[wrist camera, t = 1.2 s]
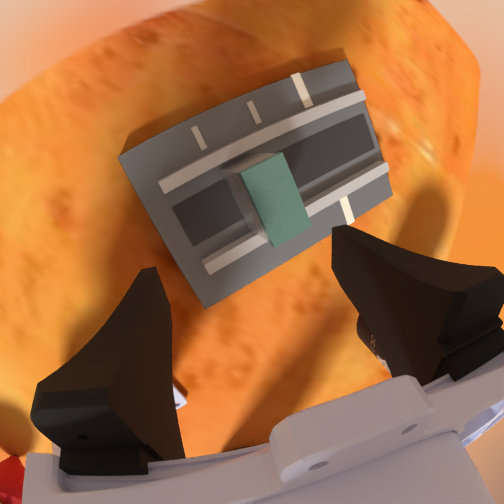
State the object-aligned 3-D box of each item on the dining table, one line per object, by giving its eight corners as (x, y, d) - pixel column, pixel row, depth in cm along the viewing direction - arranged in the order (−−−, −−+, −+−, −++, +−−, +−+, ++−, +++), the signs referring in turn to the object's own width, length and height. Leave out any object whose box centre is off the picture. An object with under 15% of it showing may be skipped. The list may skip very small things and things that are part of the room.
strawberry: (51, 460, 23) (46, 534, 14) (25, 478, 23) (20, 542, 14) (6, 431, 21) (-10, 506, 12) (-15, 453, 20) (-28, 517, 11)
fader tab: (247, 228, 22) (274, 248, 17) (218, 168, 20) (240, 173, 16) (278, 211, 22) (312, 226, 18) (252, 151, 20) (282, 152, 16)
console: (201, 301, 24) (209, 317, 22) (118, 155, 19) (115, 155, 17) (381, 193, 27) (400, 198, 24) (335, 61, 22) (354, 55, 19)
